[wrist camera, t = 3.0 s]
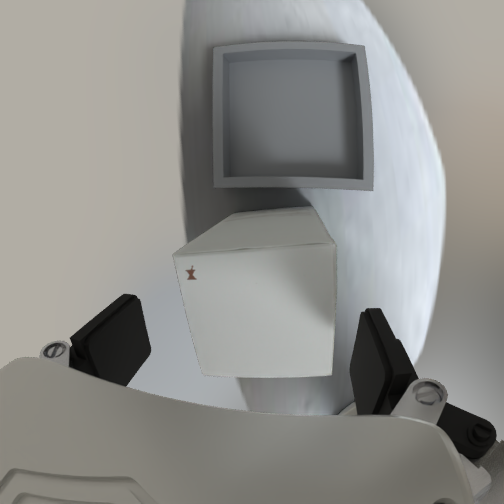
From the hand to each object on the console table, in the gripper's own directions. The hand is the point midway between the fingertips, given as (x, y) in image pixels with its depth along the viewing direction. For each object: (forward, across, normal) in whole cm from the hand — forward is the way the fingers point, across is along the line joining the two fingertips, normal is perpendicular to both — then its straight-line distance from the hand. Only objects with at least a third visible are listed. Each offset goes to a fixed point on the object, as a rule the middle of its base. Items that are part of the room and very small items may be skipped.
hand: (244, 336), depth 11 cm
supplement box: (+14, 0, +1) cm, 15 cm away
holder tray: (+14, -2, -11) cm, 18 cm away
